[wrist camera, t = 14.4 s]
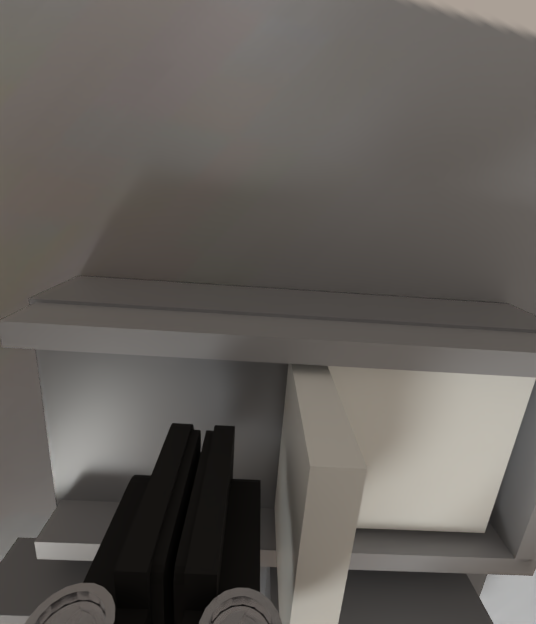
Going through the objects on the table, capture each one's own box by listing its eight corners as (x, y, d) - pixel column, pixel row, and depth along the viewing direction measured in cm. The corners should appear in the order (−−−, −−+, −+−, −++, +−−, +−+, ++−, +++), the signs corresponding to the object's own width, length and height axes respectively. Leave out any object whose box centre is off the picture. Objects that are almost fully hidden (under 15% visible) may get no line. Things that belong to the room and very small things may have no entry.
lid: (274, 507, 13) (282, 681, 8) (289, 352, 11) (310, 466, 6) (473, 515, 13) (586, 688, 8) (519, 366, 11) (696, 483, 7)
